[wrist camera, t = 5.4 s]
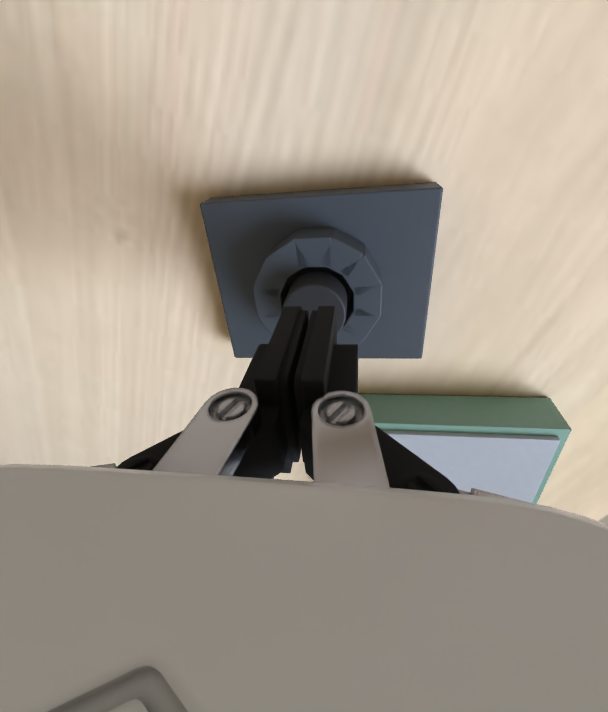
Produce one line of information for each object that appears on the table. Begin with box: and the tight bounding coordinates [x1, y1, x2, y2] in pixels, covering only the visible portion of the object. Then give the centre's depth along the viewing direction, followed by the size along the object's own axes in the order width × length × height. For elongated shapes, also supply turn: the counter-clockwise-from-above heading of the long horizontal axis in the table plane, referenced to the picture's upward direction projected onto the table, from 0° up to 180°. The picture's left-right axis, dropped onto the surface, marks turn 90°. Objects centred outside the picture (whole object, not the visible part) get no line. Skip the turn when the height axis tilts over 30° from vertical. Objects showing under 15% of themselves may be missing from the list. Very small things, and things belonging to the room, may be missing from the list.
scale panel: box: [200, 182, 443, 358], centre depth 16 cm, size 10×8×3 cm
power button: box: [283, 271, 347, 333], centre depth 15 cm, size 3×3×2 cm
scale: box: [358, 394, 571, 504], centre depth 22 cm, size 11×11×3 cm
